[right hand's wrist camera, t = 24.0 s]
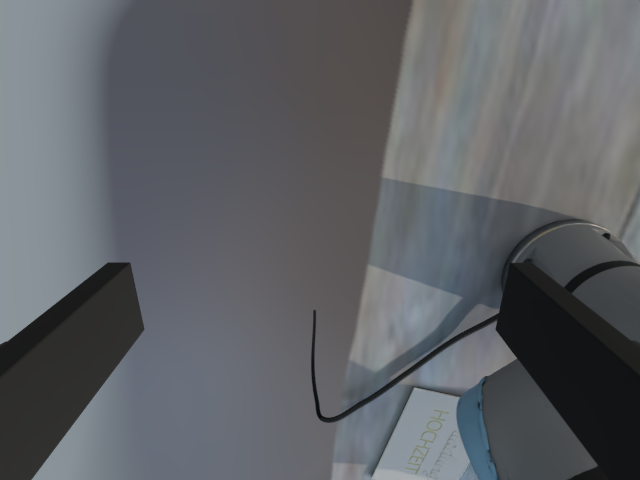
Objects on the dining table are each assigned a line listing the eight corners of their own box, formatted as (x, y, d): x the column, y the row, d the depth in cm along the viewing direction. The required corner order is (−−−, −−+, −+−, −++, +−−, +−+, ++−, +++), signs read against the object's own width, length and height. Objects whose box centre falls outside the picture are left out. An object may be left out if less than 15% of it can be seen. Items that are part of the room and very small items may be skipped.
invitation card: (414, 388, 56) (503, 407, 58) (414, 387, 57) (502, 406, 58) (371, 479, 64) (450, 494, 65) (371, 477, 64) (450, 492, 66)
